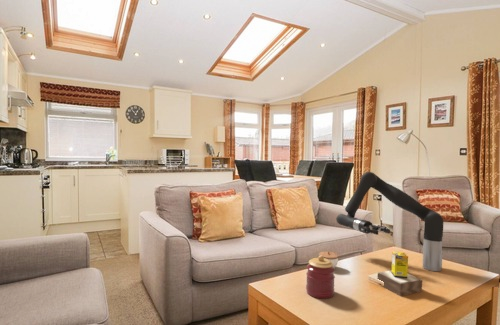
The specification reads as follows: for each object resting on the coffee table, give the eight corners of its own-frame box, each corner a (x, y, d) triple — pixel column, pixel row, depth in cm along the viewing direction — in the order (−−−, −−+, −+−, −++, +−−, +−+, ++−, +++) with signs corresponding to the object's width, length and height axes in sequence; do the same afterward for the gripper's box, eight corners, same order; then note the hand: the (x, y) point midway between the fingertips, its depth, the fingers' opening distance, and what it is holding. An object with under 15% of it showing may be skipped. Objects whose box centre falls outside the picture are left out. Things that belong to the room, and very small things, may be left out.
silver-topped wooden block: (397, 280, 157) (398, 268, 157) (421, 291, 144) (422, 279, 144) (377, 283, 152) (377, 272, 152) (400, 296, 139) (400, 283, 139)
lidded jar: (322, 263, 180) (323, 247, 180) (340, 267, 174) (341, 251, 173) (315, 268, 171) (316, 252, 171) (334, 272, 165) (334, 256, 165)
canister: (300, 288, 144) (301, 252, 144) (322, 284, 149) (323, 249, 149) (316, 301, 132) (318, 261, 132) (340, 296, 137) (341, 258, 137)
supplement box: (407, 278, 145) (408, 256, 144) (394, 277, 146) (395, 255, 146) (403, 273, 150) (404, 252, 150) (391, 272, 152) (391, 251, 151)
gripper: (353, 220, 179) (374, 226, 164) (371, 218, 184) (393, 224, 169) (353, 233, 179) (373, 240, 164) (371, 230, 184) (393, 237, 169)
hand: (383, 232), depth 166 cm, fingers open, 8 cm apart
